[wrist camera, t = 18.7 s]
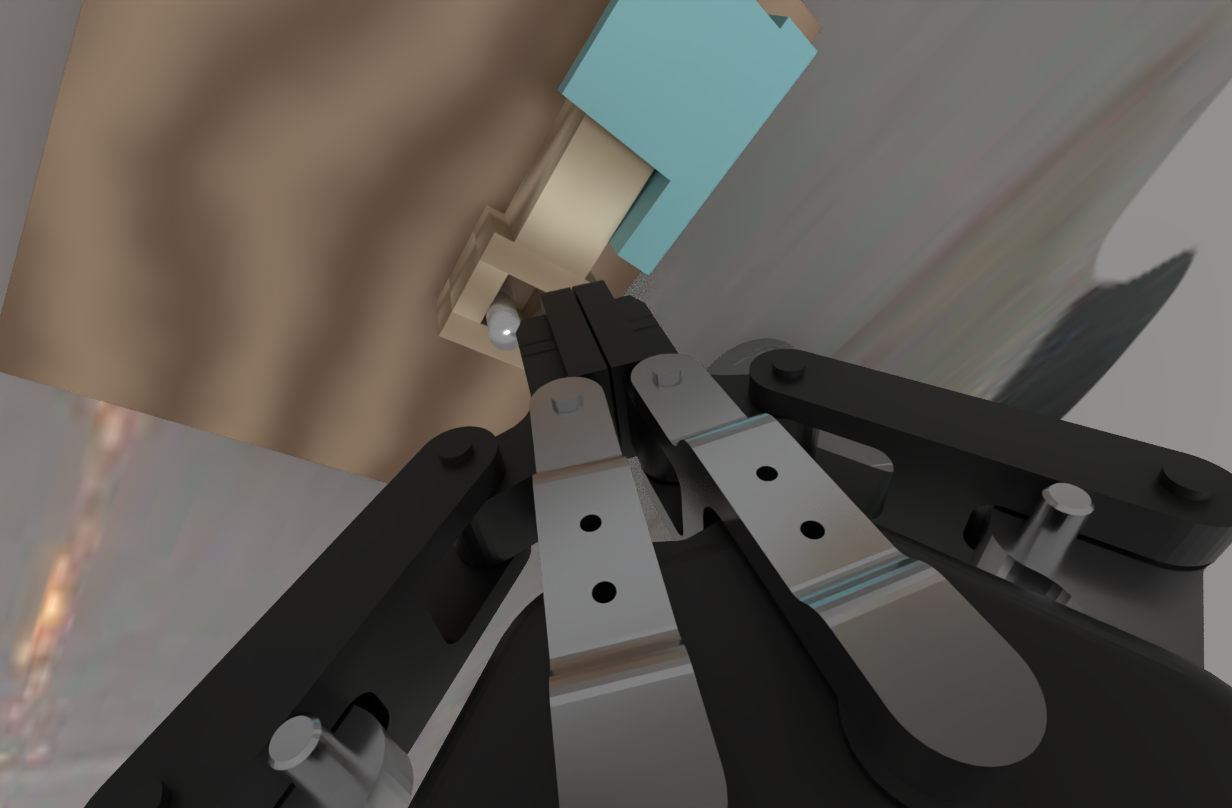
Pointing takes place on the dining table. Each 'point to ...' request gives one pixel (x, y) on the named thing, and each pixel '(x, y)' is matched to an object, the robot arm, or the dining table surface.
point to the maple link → (544, 228)
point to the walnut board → (289, 213)
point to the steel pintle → (503, 319)
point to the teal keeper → (682, 100)
